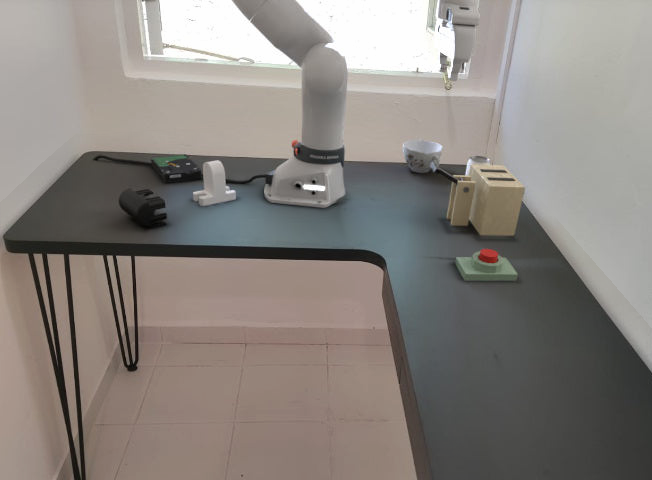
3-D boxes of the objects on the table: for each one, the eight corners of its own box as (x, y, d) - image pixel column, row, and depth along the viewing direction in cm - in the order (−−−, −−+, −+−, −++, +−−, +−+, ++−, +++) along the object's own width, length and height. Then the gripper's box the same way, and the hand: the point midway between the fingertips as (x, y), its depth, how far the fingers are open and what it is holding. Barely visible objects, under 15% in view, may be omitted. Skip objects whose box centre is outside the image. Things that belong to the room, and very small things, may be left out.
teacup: (392, 165, 191) (395, 141, 187) (423, 161, 198) (426, 137, 193) (420, 181, 181) (423, 155, 177) (451, 176, 187) (455, 151, 183)
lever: (432, 174, 143) (438, 166, 142) (427, 167, 147) (433, 159, 146) (467, 195, 148) (473, 187, 147) (462, 188, 152) (467, 180, 151)
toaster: (478, 239, 148) (489, 185, 141) (461, 213, 162) (470, 163, 154) (513, 240, 150) (526, 186, 142) (493, 214, 163) (503, 164, 156)
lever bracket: (449, 232, 151) (457, 184, 144) (441, 219, 157) (448, 172, 150) (471, 232, 152) (480, 184, 145) (463, 220, 158) (471, 173, 151)
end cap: (120, 217, 141) (116, 190, 137) (149, 211, 145) (146, 184, 142) (139, 232, 135) (135, 204, 131) (168, 225, 139) (165, 198, 136)
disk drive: (202, 180, 166) (186, 162, 176) (202, 170, 165) (185, 153, 175) (165, 184, 161) (150, 166, 171) (164, 174, 160) (149, 156, 170)
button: (481, 264, 130) (483, 256, 129) (476, 255, 133) (477, 248, 132) (499, 264, 131) (500, 257, 130) (493, 255, 134) (494, 248, 133)
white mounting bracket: (236, 199, 157) (235, 162, 151) (202, 206, 151) (199, 167, 145) (226, 192, 160) (224, 156, 154) (192, 199, 154) (189, 161, 149)
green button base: (464, 280, 129) (467, 266, 128) (455, 263, 136) (457, 249, 134) (516, 281, 131) (519, 267, 130) (504, 264, 138) (507, 250, 136)
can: (476, 205, 168) (484, 164, 162) (457, 198, 171) (464, 158, 165) (487, 199, 173) (495, 159, 166) (468, 193, 176) (475, 153, 169)
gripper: (431, 5, 142) (424, 66, 149) (454, 15, 125) (445, 84, 132) (457, 7, 143) (448, 68, 150) (483, 17, 126) (472, 86, 133)
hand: (447, 76), depth 141 cm, fingers open, 8 cm apart
